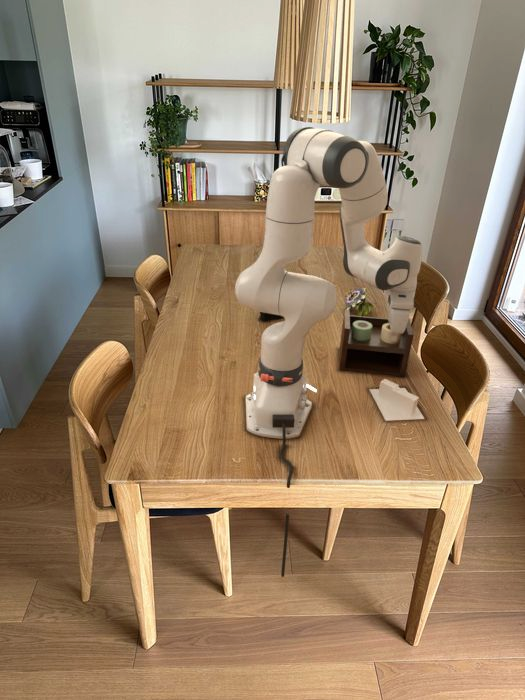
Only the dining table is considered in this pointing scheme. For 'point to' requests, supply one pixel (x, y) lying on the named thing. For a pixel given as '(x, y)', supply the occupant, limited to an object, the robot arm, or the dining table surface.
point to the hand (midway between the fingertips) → (391, 332)
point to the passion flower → (358, 301)
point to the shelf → (373, 349)
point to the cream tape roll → (388, 334)
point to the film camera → (269, 316)
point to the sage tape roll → (361, 330)
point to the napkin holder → (396, 402)
